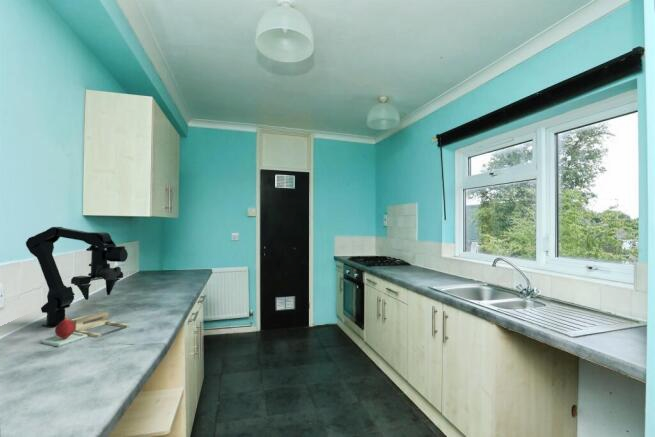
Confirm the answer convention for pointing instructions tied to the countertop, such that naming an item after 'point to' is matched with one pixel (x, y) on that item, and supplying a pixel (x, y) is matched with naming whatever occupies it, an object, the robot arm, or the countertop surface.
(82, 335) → the tray
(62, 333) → the onion
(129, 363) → the countertop surface
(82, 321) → the open rectangular frame
